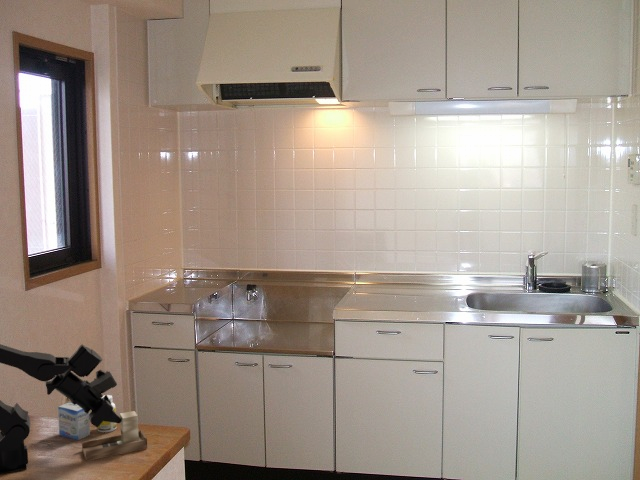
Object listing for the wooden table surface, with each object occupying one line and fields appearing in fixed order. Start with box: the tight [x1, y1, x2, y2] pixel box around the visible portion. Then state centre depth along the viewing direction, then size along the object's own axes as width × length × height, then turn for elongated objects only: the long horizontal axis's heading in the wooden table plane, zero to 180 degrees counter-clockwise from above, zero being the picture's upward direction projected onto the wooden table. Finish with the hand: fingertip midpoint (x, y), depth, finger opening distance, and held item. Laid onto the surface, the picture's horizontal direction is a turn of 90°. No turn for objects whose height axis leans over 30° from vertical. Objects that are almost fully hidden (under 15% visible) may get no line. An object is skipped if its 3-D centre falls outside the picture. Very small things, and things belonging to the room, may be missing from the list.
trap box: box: [81, 428, 148, 462], centre depth 186 cm, size 16×7×3 cm, turn 117°
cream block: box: [119, 410, 139, 444], centre depth 187 cm, size 4×4×8 cm
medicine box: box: [57, 402, 91, 441], centre depth 196 cm, size 8×4×9 cm, turn 62°
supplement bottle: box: [96, 394, 118, 433], centre depth 199 cm, size 5×5×10 cm
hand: (120, 421), depth 186 cm, fingers closed, pressing on cream block
